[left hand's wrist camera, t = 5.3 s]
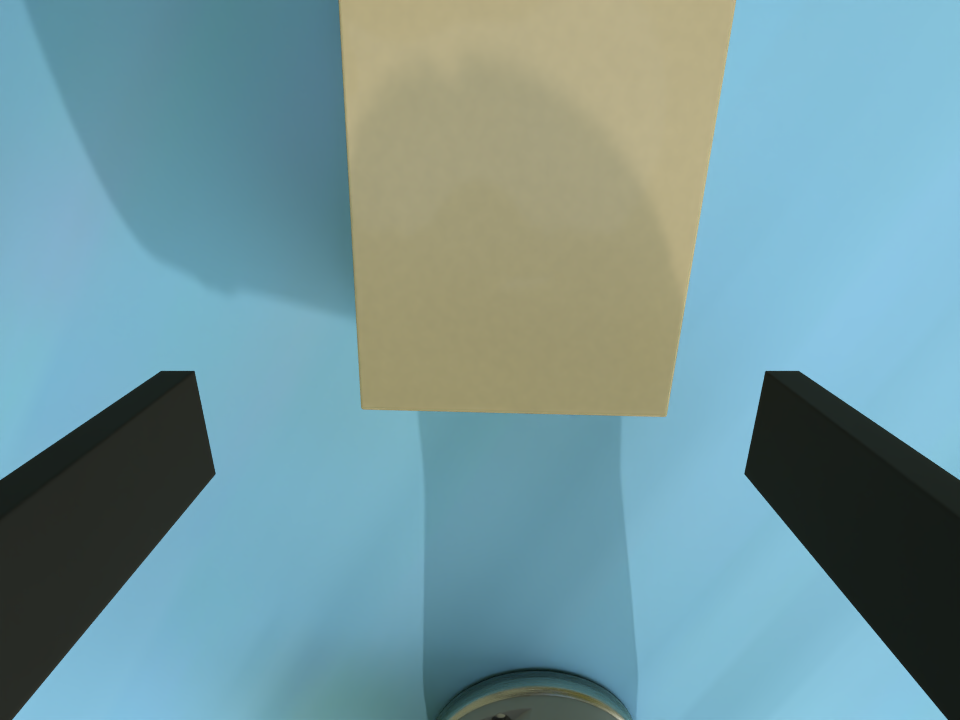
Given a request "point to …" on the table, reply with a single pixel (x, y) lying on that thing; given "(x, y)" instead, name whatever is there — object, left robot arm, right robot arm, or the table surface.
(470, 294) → the tan cardboard carton
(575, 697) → the left robot arm
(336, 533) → the table surface
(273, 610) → the table surface
